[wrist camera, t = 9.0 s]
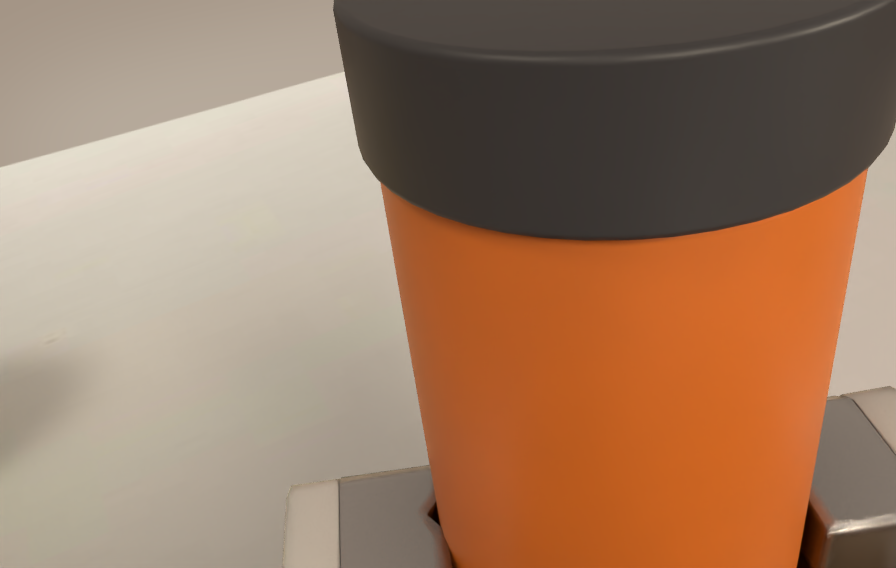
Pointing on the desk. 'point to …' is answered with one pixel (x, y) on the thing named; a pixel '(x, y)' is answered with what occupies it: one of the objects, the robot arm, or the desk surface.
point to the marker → (621, 259)
